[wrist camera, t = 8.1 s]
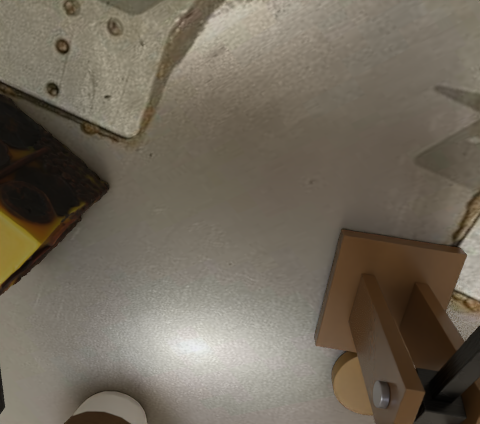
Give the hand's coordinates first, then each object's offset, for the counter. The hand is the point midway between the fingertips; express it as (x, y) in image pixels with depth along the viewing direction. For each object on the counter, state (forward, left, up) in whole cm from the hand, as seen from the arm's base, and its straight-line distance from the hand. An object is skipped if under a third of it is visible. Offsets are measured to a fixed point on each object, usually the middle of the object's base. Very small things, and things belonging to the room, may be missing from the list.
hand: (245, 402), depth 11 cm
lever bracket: (+9, +11, -22) cm, 26 cm away
